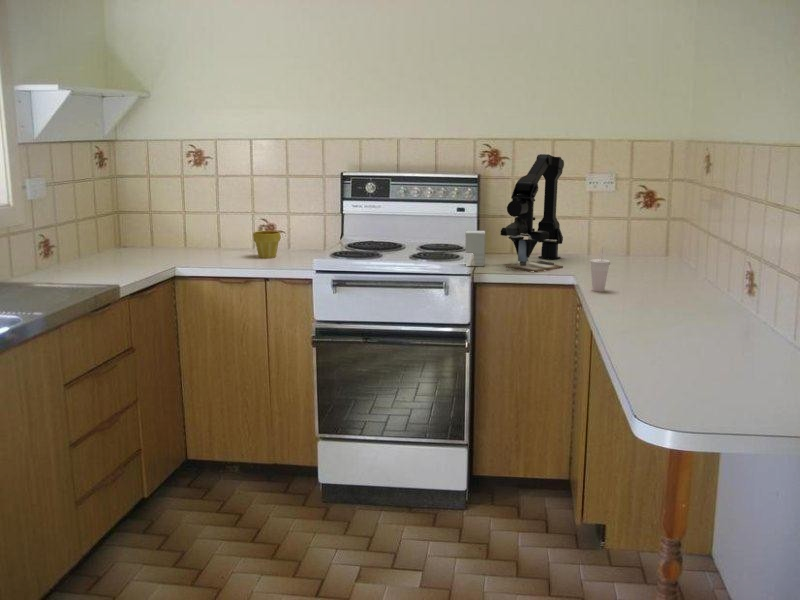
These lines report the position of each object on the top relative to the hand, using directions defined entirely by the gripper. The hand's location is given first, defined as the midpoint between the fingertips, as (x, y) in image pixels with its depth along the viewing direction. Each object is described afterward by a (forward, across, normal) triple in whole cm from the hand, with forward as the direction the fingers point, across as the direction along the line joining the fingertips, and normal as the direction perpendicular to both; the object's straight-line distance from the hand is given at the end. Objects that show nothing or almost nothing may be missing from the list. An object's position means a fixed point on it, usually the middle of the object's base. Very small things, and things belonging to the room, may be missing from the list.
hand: (523, 256), depth 308 cm
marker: (+3, 0, 0) cm, 3 cm away
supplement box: (+4, -15, -10) cm, 19 cm away
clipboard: (+4, +3, +3) cm, 6 cm away
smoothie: (+4, +44, -16) cm, 47 cm away
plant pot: (+4, -79, -60) cm, 99 cm away
